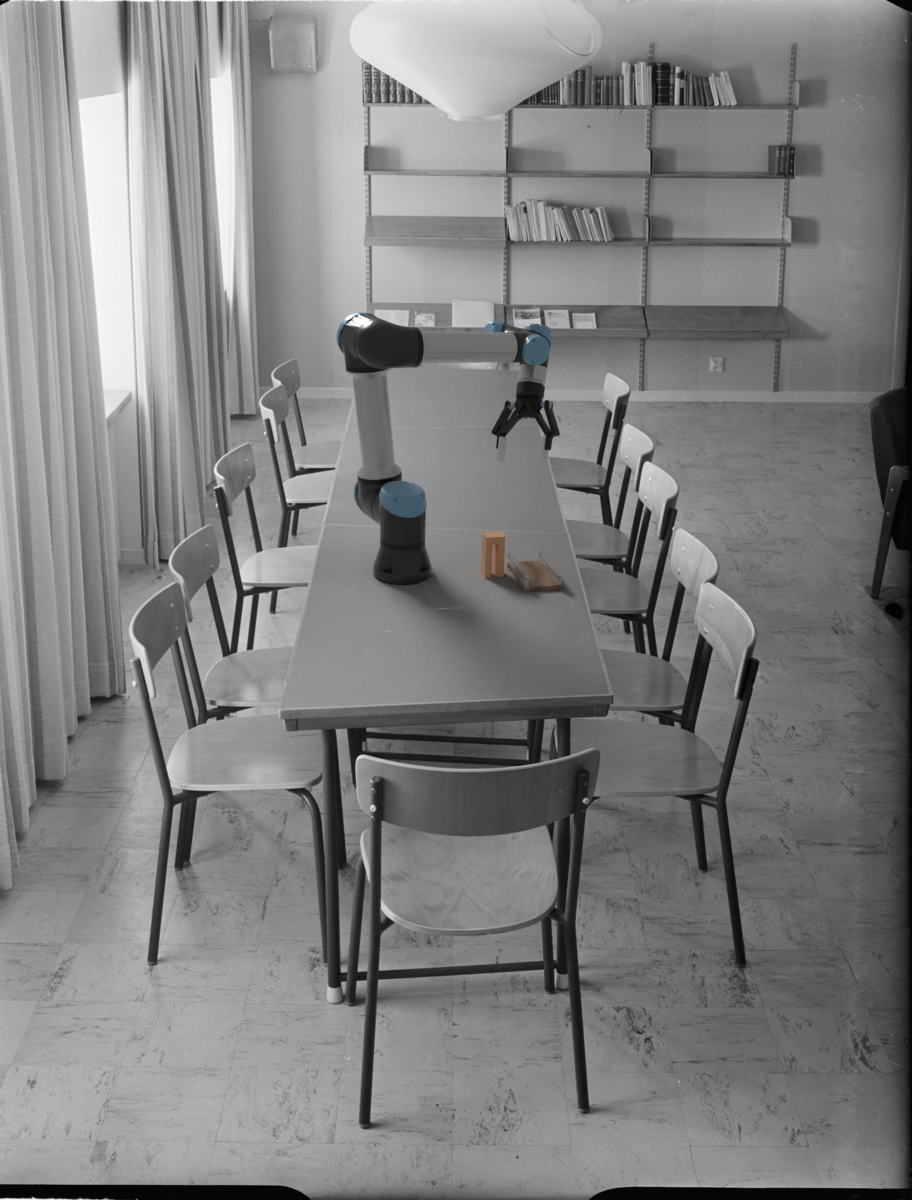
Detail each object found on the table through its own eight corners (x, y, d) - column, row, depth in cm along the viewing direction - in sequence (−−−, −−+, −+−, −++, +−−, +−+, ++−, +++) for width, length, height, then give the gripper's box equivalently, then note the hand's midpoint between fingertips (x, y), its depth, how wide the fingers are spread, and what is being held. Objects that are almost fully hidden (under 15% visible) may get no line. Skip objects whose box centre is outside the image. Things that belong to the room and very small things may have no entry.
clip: (484, 577, 308) (486, 537, 303) (481, 571, 312) (482, 532, 307) (503, 576, 309) (505, 536, 304) (499, 570, 313) (501, 531, 308)
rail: (524, 591, 299) (525, 578, 298) (507, 566, 316) (507, 553, 314) (560, 589, 301) (561, 576, 300) (541, 564, 318) (542, 551, 316)
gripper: (578, 385, 314) (568, 465, 313) (500, 387, 328) (490, 463, 328) (564, 378, 308) (554, 459, 307) (485, 380, 322) (475, 458, 322)
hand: (521, 462), depth 317 cm, fingers open, 13 cm apart
